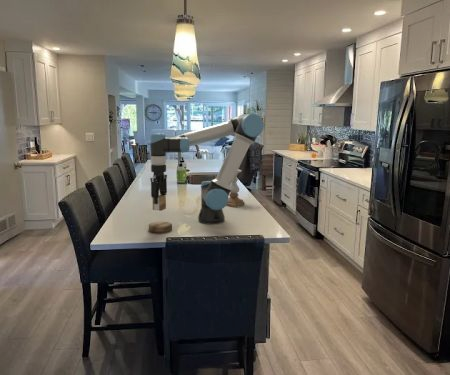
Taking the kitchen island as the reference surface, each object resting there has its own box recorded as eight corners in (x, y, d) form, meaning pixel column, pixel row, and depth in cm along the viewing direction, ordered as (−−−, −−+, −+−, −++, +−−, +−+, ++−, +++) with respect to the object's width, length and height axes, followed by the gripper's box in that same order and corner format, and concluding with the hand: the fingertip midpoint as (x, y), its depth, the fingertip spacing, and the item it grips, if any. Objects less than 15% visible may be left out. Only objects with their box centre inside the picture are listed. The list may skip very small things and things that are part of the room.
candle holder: (231, 202, 258) (232, 168, 254) (244, 204, 252) (245, 169, 248) (222, 205, 250) (222, 170, 245) (236, 207, 243) (236, 171, 239)
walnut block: (165, 208, 194) (165, 195, 193) (161, 210, 189) (161, 197, 188) (157, 207, 195) (157, 194, 194) (152, 209, 191) (152, 196, 189)
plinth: (175, 227, 198) (175, 222, 198) (165, 234, 187) (165, 228, 186) (155, 225, 202) (155, 220, 201) (144, 232, 191) (144, 226, 190)
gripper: (160, 161, 197) (161, 204, 202) (142, 165, 181) (144, 212, 185) (173, 162, 195) (173, 205, 200) (156, 166, 178) (157, 213, 183)
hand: (159, 208), depth 192 cm, fingers closed on walnut block, 5 cm apart
